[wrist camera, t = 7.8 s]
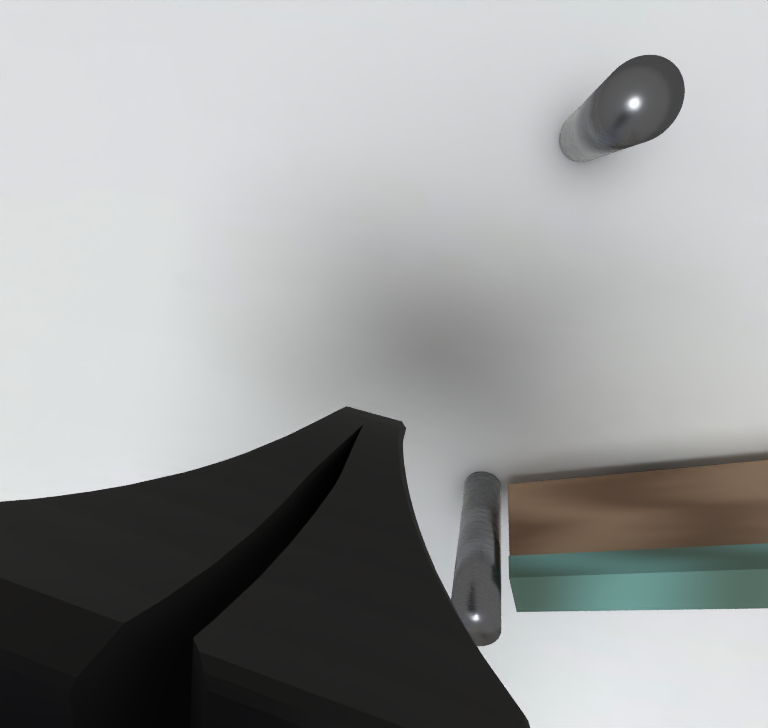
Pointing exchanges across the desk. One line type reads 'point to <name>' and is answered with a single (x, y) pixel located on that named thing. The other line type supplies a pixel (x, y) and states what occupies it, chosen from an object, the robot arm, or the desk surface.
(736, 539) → the open box
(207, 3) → the desk surface
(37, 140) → the desk surface
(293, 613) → the robot arm
